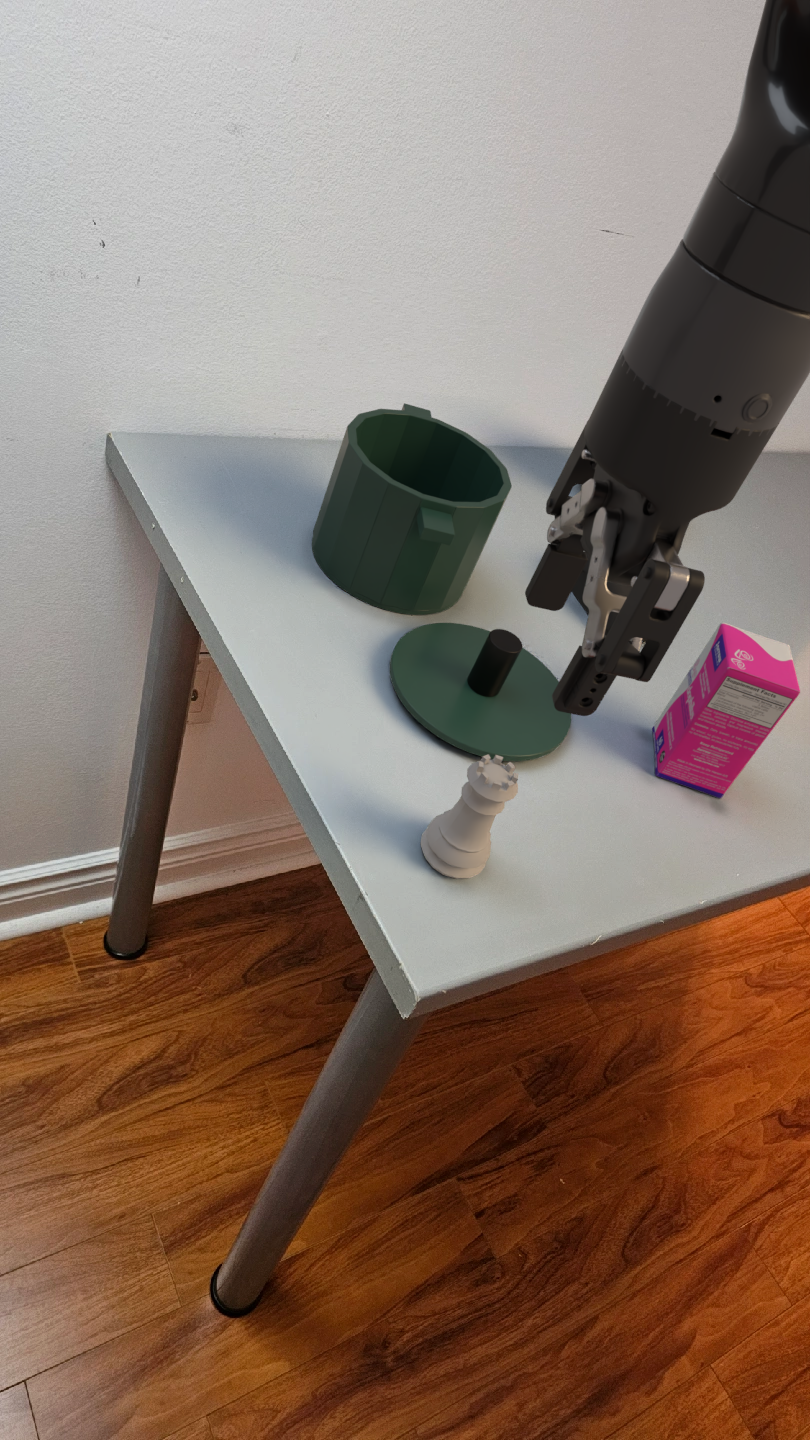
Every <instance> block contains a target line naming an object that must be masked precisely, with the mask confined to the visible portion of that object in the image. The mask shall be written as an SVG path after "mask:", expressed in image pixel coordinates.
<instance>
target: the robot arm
mask: <svg viewBox="0 0 810 1440" xmlns="http://www.w3.org/2000/svg"><path fill="white" fill-rule="evenodd" d="M750 55H751V56H750V59H749V63H748V65H747V66H748V67H747V71H746V76H745V80H744V85H743V90H742V96H741V101H740V105H739V110H738V114H737V117H736V118H737V119H736V123H735V126H734V130H733V133H732V135H731V137H730V140H729V142H728V144H727V146H726V147H725V150H724V151H723V154H722V155H721V158H720V159H719V161H718V163H717V165H716V166H715V168H714V171H713V173H712V175H711V177H710V179H709V181H708V183H707V185H706V187H705V189H704V191H703V194H702V196H701V198H700V199H699V202H698V204H697V206H696V207H695V211H693V214H692V215H691V216H692V217H691V218H690V220H689V223H688V225H687V227H686V229H685V231H684V232H683V236H682V239H681V240H680V241H679V243H678V245H677V247H676V249H675V250H674V253H673V254H672V256H671V257H670V259H669V261H668V262H667V264H666V265H665V267H664V268H663V270H662V272H661V273H660V275H659V276H658V277H657V279H656V281H655V283H654V284H653V286H652V288H651V289H650V291H649V293H648V295H647V296H646V299H645V301H644V303H643V305H642V307H641V308H640V311H639V313H638V315H637V317H636V320H635V322H634V324H633V326H632V328H631V330H630V332H629V334H628V336H627V338H626V340H625V343H624V345H623V347H622V349H621V351H620V353H619V355H618V357H617V359H616V361H615V363H614V366H613V367H612V369H611V371H610V374H609V376H608V378H607V380H606V382H605V384H604V386H603V388H602V390H601V393H600V395H599V397H598V399H597V402H596V403H595V405H594V408H593V409H592V412H591V413H590V415H589V418H588V420H587V421H586V423H585V425H584V427H583V429H582V431H581V433H580V435H579V437H578V439H577V441H576V443H575V445H574V446H573V449H572V450H571V452H570V454H569V457H568V459H566V460H567V461H566V462H565V465H564V466H563V468H562V470H561V472H560V474H559V477H558V478H557V481H556V482H555V484H554V486H553V488H552V490H551V492H550V494H549V496H548V498H547V499H546V500H547V501H546V505H545V512H546V514H547V515H550V516H554V519H553V520H552V521H551V522H550V524H549V526H548V528H547V532H546V533H547V534H546V540H547V542H548V544H547V546H546V547H545V550H544V552H543V554H542V556H541V558H540V560H539V562H538V565H537V566H536V569H535V570H534V572H533V574H532V577H531V579H530V580H529V583H528V585H527V587H526V588H525V592H524V595H525V598H526V602H527V604H528V605H529V606H530V607H534V608H538V609H543V610H547V611H552V612H558V611H560V610H562V609H563V608H564V606H565V605H566V602H567V600H568V599H569V597H570V595H571V593H572V589H573V587H574V586H575V584H576V582H577V580H578V578H579V576H580V574H581V572H582V570H583V568H584V567H585V565H586V563H587V561H588V558H587V555H586V553H587V554H588V557H589V569H588V574H587V578H586V583H585V588H584V592H583V602H584V604H585V605H586V606H587V607H588V608H589V615H588V614H587V615H588V616H587V621H586V624H585V630H584V633H583V634H584V635H583V639H582V644H581V645H578V647H577V649H576V651H575V653H574V655H573V656H572V658H571V660H570V661H569V663H568V665H567V667H566V668H565V670H564V673H563V674H562V676H561V678H560V679H559V680H558V681H559V683H558V685H557V687H556V689H555V690H554V692H553V694H552V699H553V703H554V707H555V709H556V710H557V711H560V712H565V713H570V714H571V715H577V716H580V717H581V716H582V717H587V716H591V715H592V714H594V713H595V712H596V711H597V709H598V708H599V706H600V704H601V702H602V701H603V700H604V697H605V695H606V694H608V691H609V689H610V688H611V686H612V685H613V683H614V681H615V680H616V678H617V677H621V678H626V679H631V680H635V681H638V682H642V683H648V682H650V681H651V679H652V678H653V676H654V675H655V673H656V671H657V670H658V668H659V666H660V664H661V662H662V660H663V659H664V657H665V655H666V654H667V652H668V650H669V648H670V647H671V645H672V644H673V642H674V640H675V639H676V637H677V635H678V633H679V631H680V629H681V628H682V626H683V625H684V623H685V621H686V619H687V618H688V616H689V614H690V612H691V611H692V609H693V607H694V605H695V604H696V602H697V600H698V599H699V597H700V595H701V593H702V591H703V589H704V588H705V587H704V586H705V582H706V581H705V580H706V579H705V573H704V572H703V571H702V570H699V569H694V568H690V567H688V566H686V565H684V564H683V562H682V560H681V558H680V557H679V553H680V551H681V548H682V545H683V541H684V539H685V535H686V533H687V530H688V528H689V526H690V523H691V522H692V521H693V520H694V519H696V518H698V517H699V516H702V515H705V514H707V513H711V512H714V511H718V510H721V509H723V508H724V507H726V506H728V505H729V504H730V503H731V502H732V501H733V500H734V498H735V497H736V495H737V494H738V492H739V490H740V489H741V487H742V485H743V484H744V482H745V480H746V479H747V477H748V476H749V474H750V472H751V470H752V469H753V467H754V466H755V464H756V463H757V461H758V460H759V458H760V455H761V454H762V452H763V451H764V449H765V448H766V446H767V445H768V443H769V441H770V439H771V438H772V436H773V435H774V433H775V432H776V429H777V428H778V426H779V424H780V423H781V422H782V420H783V418H784V416H785V415H786V413H787V411H788V410H789V408H790V406H791V405H792V403H793V402H794V400H795V398H796V397H797V395H798V393H799V392H800V390H801V388H802V387H803V385H804V384H805V382H806V380H807V379H808V377H809V375H810V0H765V2H764V6H763V9H762V13H761V18H760V21H759V25H758V29H757V33H756V36H755V41H754V44H753V47H752V52H751V54H750ZM576 485H581V486H582V487H581V486H580V487H581V488H580V491H578V492H577V493H575V495H573V496H570V493H571V491H572V490H573V488H574V487H575V486H576ZM583 551H585V552H583ZM607 581H608V582H612V583H616V584H621V585H625V586H632V589H631V591H630V593H629V594H628V596H627V597H625V596H621V595H617V594H613V593H611V592H610V591H609V590H608V588H607ZM611 611H613V612H617V613H618V615H617V617H616V619H615V621H614V623H613V625H612V627H611V628H610V630H609V632H608V634H607V636H606V635H604V634H605V630H606V625H607V620H608V616H609V613H610V612H611ZM642 639H647V641H646V642H644V645H643V647H642V643H643V642H642ZM641 647H642V648H641Z"/></svg>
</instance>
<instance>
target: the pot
mask: <svg viewBox="0 0 810 1440" xmlns="http://www.w3.org/2000/svg"><path fill="white" fill-rule="evenodd" d="M328 481H329V482H328V484H327V487H326V490H325V494H324V496H323V499H322V503H321V506H320V509H319V512H318V515H317V518H316V520H315V524H314V528H313V530H312V538H311V551H312V553H313V557H314V559H315V561H316V563H317V565H318V566H319V568H320V569H321V571H322V572H323V573H324V574H325V576H327V577H328V579H329V580H331V581H332V582H333V583H334V584H335V585H336V586H337V587H339V588H340V589H342V590H343V591H344V592H346V593H347V594H349V595H350V596H352V597H354V598H356V599H358V600H360V601H362V602H363V603H366V604H368V605H371V606H373V607H375V608H379V609H381V610H383V611H384V610H385V611H388V612H393V613H397V614H401V615H412V616H426V615H433V614H439V613H442V612H445V611H447V610H449V609H451V608H452V607H454V606H455V605H456V604H457V603H458V602H459V601H460V599H461V598H462V595H463V593H464V591H465V589H466V588H467V586H468V583H469V581H470V579H471V577H472V575H473V572H474V571H475V568H476V566H477V563H478V562H479V559H480V557H481V555H482V553H483V550H484V549H485V547H486V544H487V542H488V540H489V538H490V535H491V533H492V531H493V529H494V527H495V525H496V522H497V520H498V518H499V516H500V514H501V511H502V509H503V507H504V505H505V504H506V501H507V499H508V496H509V495H510V492H511V490H512V487H513V486H512V482H511V478H510V475H509V472H508V469H507V467H506V466H505V465H504V464H503V463H502V461H501V460H500V459H499V458H498V457H497V455H496V454H495V453H494V452H493V451H492V449H490V448H489V447H488V446H486V445H484V444H483V443H482V442H480V441H479V440H477V439H476V438H475V437H473V436H472V435H471V434H469V433H468V432H466V431H464V430H462V429H459V428H458V427H455V426H453V425H452V424H450V423H447V422H445V421H443V420H440V419H438V418H437V417H436V418H435V417H432V412H431V410H430V409H426V408H422V407H419V406H416V405H412V404H408V403H405V402H404V403H403V405H402V408H401V409H389V408H377V409H373V410H369V411H365V412H360V413H358V414H357V415H356V416H355V417H354V418H353V419H352V420H351V421H350V423H348V425H347V426H346V429H345V432H344V435H343V439H342V441H341V445H340V448H339V451H338V453H337V457H336V459H335V462H334V466H333V469H332V472H331V475H330V478H329V480H328Z"/></svg>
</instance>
